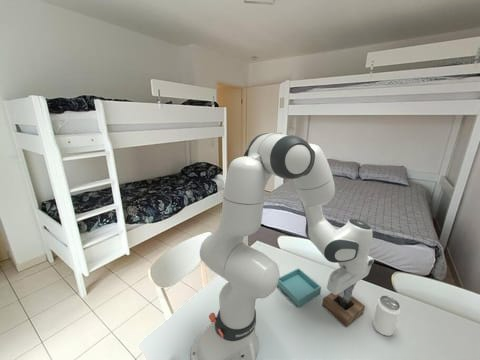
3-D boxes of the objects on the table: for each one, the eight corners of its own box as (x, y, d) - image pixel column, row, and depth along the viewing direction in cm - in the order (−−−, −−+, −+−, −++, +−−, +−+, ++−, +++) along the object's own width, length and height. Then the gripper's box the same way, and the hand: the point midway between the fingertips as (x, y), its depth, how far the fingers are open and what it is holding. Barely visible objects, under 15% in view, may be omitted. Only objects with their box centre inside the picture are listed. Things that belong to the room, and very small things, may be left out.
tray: (297, 307, 85) (298, 300, 84) (276, 285, 96) (277, 278, 94) (320, 294, 91) (321, 286, 90) (297, 274, 102) (298, 267, 101)
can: (388, 340, 73) (396, 314, 69) (368, 325, 78) (375, 300, 74) (396, 329, 77) (404, 304, 73) (376, 316, 82) (383, 291, 78)
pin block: (346, 327, 77) (347, 319, 76) (322, 305, 86) (323, 297, 85) (363, 313, 83) (365, 306, 81) (338, 294, 91) (340, 287, 90)
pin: (344, 312, 80) (349, 291, 77) (335, 304, 84) (339, 283, 81) (351, 307, 82) (355, 286, 79) (341, 299, 86) (345, 279, 83)
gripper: (341, 278, 69) (335, 310, 73) (376, 257, 79) (369, 287, 83) (325, 266, 74) (320, 297, 79) (360, 248, 84) (354, 277, 88)
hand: (345, 292), depth 81 cm, fingers closed on pin, 4 cm apart
